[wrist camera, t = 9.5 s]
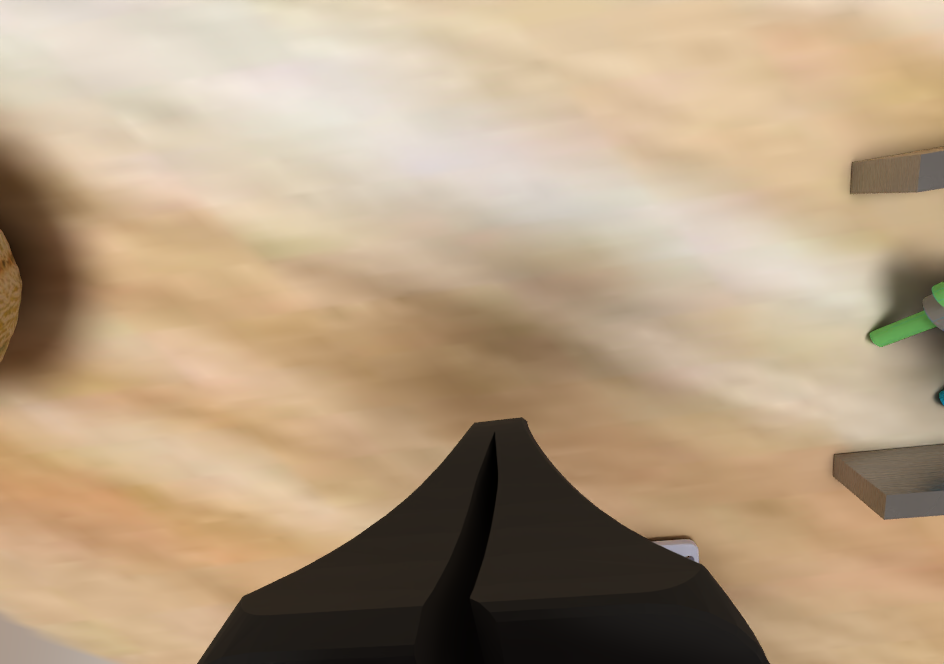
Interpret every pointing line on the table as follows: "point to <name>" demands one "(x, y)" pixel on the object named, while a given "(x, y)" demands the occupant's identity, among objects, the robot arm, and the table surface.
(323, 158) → the table surface
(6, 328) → the cantaloupe
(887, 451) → the bracket
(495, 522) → the robot arm
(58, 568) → the table surface
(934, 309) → the gear
